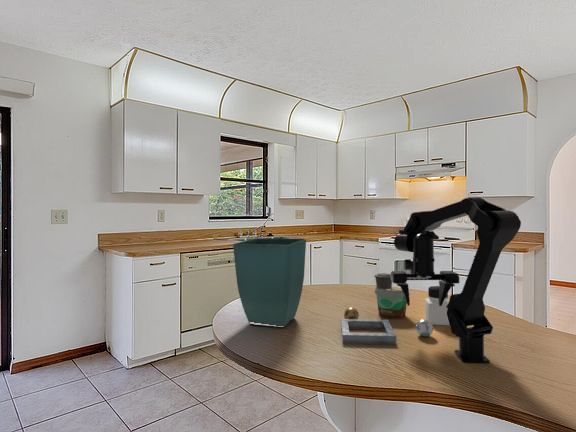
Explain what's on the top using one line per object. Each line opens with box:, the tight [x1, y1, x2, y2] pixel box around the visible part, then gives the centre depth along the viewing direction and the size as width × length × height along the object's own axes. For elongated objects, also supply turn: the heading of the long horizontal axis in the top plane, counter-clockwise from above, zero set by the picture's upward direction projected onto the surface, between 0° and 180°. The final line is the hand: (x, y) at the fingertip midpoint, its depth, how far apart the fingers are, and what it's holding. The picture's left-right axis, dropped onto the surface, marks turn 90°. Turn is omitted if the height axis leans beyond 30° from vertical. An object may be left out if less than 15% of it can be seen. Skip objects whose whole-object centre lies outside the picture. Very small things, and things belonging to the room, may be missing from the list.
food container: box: [373, 286, 408, 320], centre depth 128 cm, size 12×6×10 cm, turn 62°
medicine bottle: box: [424, 285, 450, 327], centre depth 121 cm, size 7×7×12 cm
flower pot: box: [232, 237, 307, 327], centre depth 125 cm, size 20×20×28 cm
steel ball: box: [415, 318, 434, 338], centre depth 108 cm, size 5×5×5 cm
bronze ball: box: [343, 307, 360, 319], centre depth 123 cm, size 5×5×5 cm
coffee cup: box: [374, 272, 393, 289], centre depth 156 cm, size 8×8×10 cm
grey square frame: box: [340, 318, 397, 346], centre depth 110 cm, size 15×15×2 cm
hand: (424, 305), depth 108 cm, fingers open, 9 cm apart
